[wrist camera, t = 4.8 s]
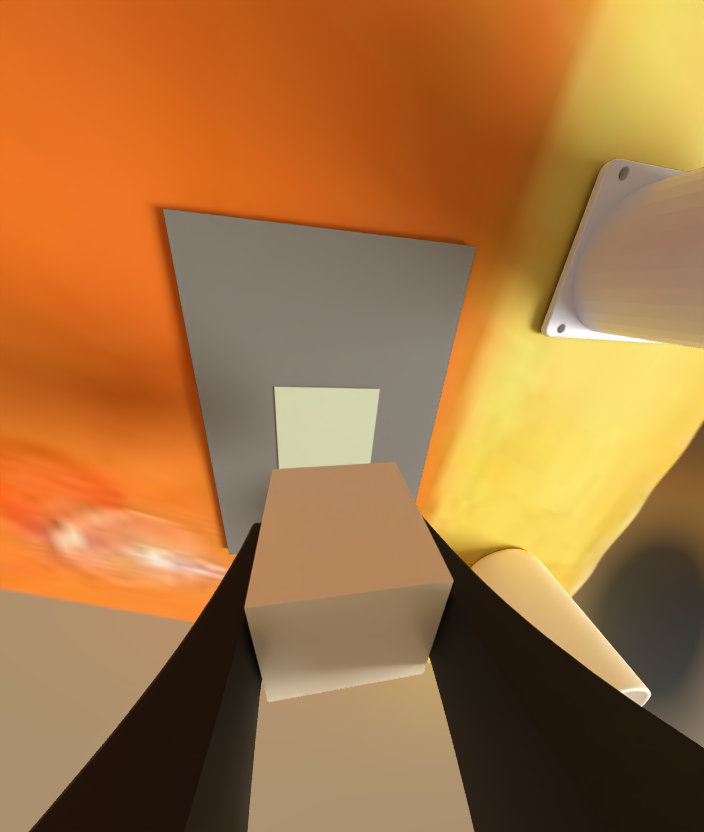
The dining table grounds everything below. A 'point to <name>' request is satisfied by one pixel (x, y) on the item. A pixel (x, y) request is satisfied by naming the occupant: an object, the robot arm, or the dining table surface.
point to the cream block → (343, 580)
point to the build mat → (312, 348)
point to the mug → (557, 616)
